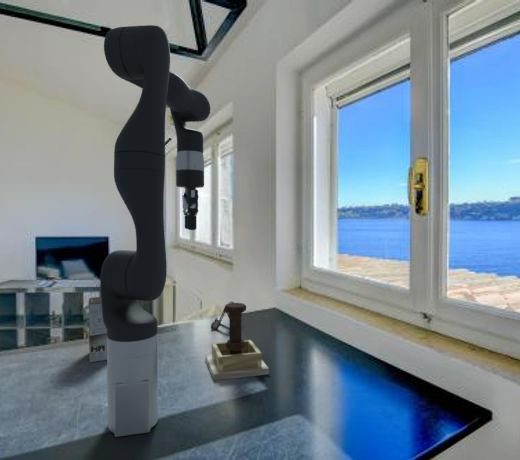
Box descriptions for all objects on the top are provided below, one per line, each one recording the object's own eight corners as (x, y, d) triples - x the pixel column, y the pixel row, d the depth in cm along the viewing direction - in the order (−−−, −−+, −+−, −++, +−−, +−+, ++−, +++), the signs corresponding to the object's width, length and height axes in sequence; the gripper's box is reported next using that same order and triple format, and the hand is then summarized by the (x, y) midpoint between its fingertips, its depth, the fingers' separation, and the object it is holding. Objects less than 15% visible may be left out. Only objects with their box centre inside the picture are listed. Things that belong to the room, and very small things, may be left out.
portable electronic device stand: (216, 323, 145) (216, 300, 145) (237, 323, 144) (237, 301, 144) (210, 330, 136) (210, 306, 136) (233, 331, 135) (233, 307, 135)
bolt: (250, 361, 103) (250, 305, 102) (235, 366, 99) (235, 308, 99) (235, 355, 107) (235, 301, 107) (221, 360, 104) (220, 304, 103)
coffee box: (114, 359, 108) (113, 301, 108) (89, 362, 106) (88, 303, 105) (112, 348, 117) (112, 295, 116) (89, 351, 114) (88, 297, 113)
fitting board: (268, 374, 99) (268, 354, 98) (213, 380, 95) (213, 360, 95) (254, 354, 112) (254, 337, 112) (205, 359, 108) (205, 341, 108)
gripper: (207, 167, 100) (207, 230, 101) (200, 172, 114) (200, 228, 115) (178, 166, 98) (178, 230, 99) (174, 171, 112) (174, 228, 113)
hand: (190, 229), depth 107 cm, fingers open, 8 cm apart
